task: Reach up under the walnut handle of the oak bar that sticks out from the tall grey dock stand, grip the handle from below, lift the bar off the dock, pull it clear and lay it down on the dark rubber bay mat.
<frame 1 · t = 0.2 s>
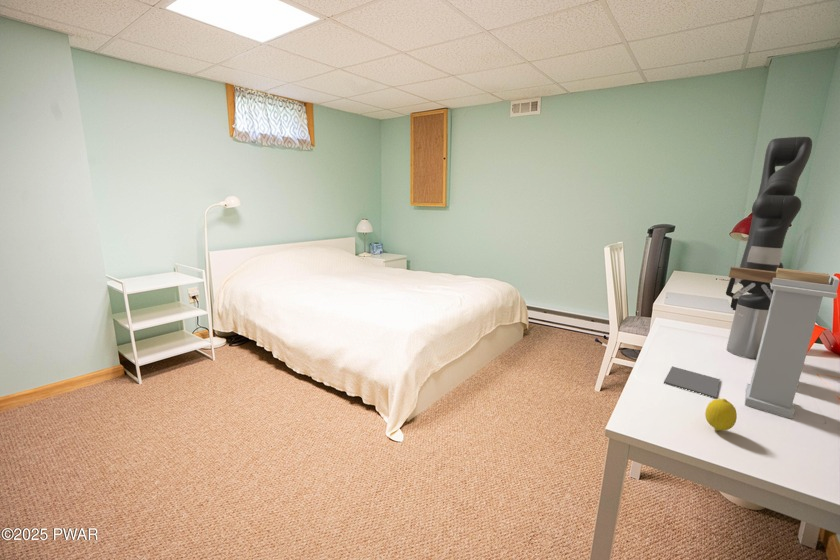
hand: (751, 312, 119), 18 cm above the table, tool pointing down, fingers open, 8 cm apart
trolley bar: (774, 282, 96), point 32 cm above the table, touching dock stand
lemon: (716, 431, 87), on the table
bay mat: (691, 381, 111), on the table
dock stand: (767, 403, 100), on the table
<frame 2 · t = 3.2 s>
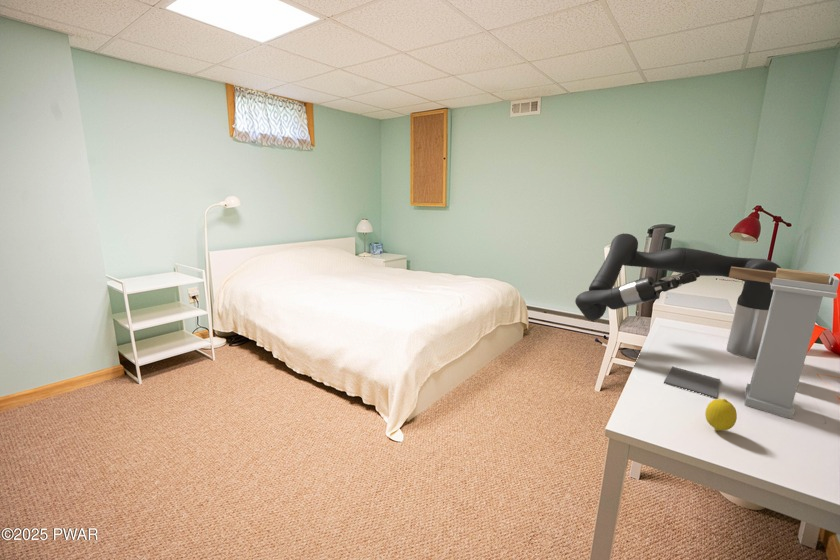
hand: (697, 274, 111), 30 cm above the table, tool pointing upward, fingers open, 8 cm apart
nothing on the table moved.
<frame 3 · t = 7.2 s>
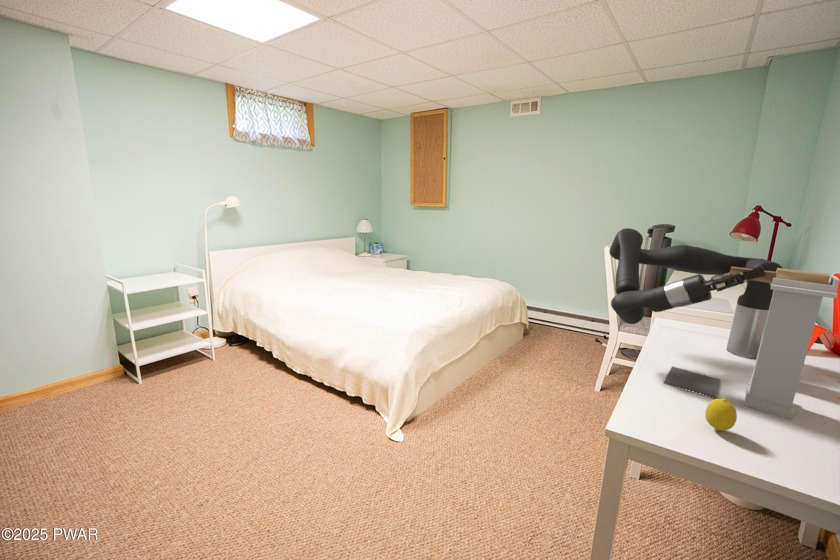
hand: (763, 270, 97), 35 cm above the table, tool pointing upward, fingers closed on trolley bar, 2 cm apart
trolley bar: (774, 282, 96), point 32 cm above the table, touching dock stand, gripper
everything else where it was.
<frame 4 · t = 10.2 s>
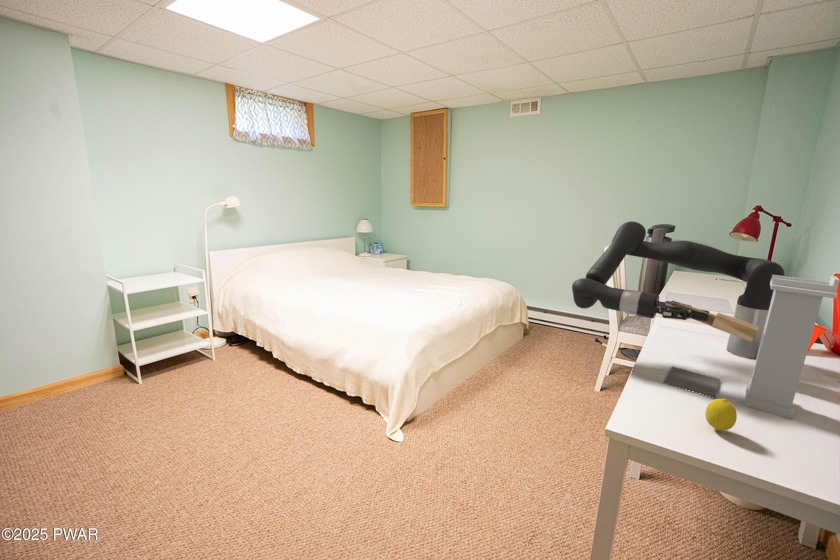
hand: (707, 316, 106), 20 cm above the table, tool horizontal, fingers closed on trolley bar, 2 cm apart
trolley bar: (711, 324, 106), point 18 cm above the table, tilted 12°, touching gripper
everything else where it was.
when the fingers open (6 cm above the table, at t = 12.7 s): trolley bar drops 4 cm, resting on bay mat.
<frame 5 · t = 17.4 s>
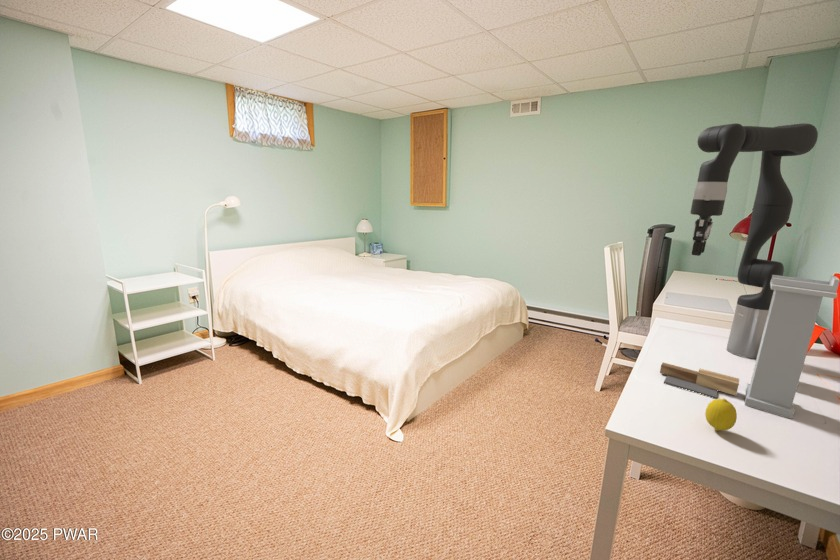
hand: (697, 253, 113), 36 cm above the table, tool pointing down, fingers open, 8 cm apart
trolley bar: (696, 381, 110), resting on bay mat
everything else where it was.
at the end: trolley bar inside the target area (1.5 cm from its centre), point 0.5 cm above the table; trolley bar touching bay mat; the gripper is holding nothing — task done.
